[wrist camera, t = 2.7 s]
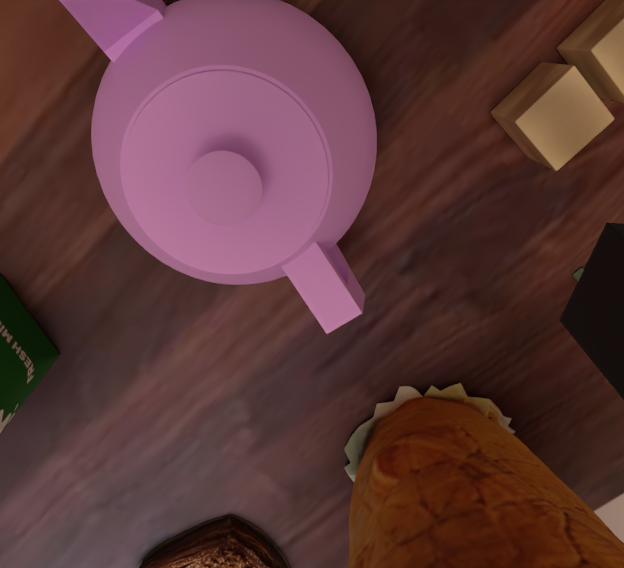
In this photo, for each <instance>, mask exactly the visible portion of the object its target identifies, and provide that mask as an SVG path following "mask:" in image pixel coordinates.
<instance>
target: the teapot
mask: <svg viewBox="0 0 624 568" xmlns="http://www.w3.org/2000/svg"><path fill="white" fill-rule="evenodd" d="M59 1H60V2H61V3H62V4H63V5H64V6H65V7H66V9H67V10H68V11H69V12H70V13H71V14H72V16H73V17H74V18H75V19H76V20H77V21H78V23H79V24H80V25H81V26H82V27H83V28H84V29H85V31H86V32H87V33H88V34H89V35H90V36H91V38H92V39H93V40H94V41H95V42H96V43H97V44H98V46H99V47H100V48H101V49H102V50H103V51H104V53H105V54H106V55H107V56H108V57H109V58H110V60H111V61H110V63H109V65H108V67H107V69H106V71H105V73H104V75H103V77H102V80H101V83H100V86H99V89H98V92H97V95H96V99H95V105H94V110H93V116H92V129H91V141H92V152H93V159H94V163H95V168H96V172H97V176H98V178H99V181H100V184H101V187H102V190H103V192H104V195H105V197H106V199H107V201H108V203H109V205H110V207H111V209H112V210H113V212H114V213H115V215H116V216H117V218H118V219H119V221H120V222H121V224H122V225H123V227H124V228H125V229H126V230H127V231H128V232H129V234H130V235H131V236H132V237H133V238H134V239H135V240H136V241H137V242H138V243H139V244H140V245H141V246H142V247H143V248H144V249H145V250H146V251H148V252H149V253H150V254H152V255H153V256H154V257H156V258H157V259H158V260H160V261H161V262H163V263H164V264H166V265H168V266H170V267H172V268H173V269H175V270H177V271H179V272H182V273H184V274H186V275H189V276H191V277H194V278H198V279H201V280H205V281H208V282H214V283H220V284H232V285H245V284H257V283H262V282H267V281H272V280H275V279H278V278H281V277H285V276H288V277H289V279H290V280H291V282H292V283H293V285H294V286H295V288H296V289H297V291H298V292H299V294H300V295H301V297H302V298H303V300H304V301H305V303H306V304H307V306H308V307H309V308H310V310H311V311H312V313H313V314H314V316H315V317H316V319H317V320H318V322H319V323H320V325H321V326H322V328H323V329H324V331H325V332H326V334H328V333H330V332H331V331H333V330H335V329H336V328H338V327H340V326H341V325H343V324H345V323H347V322H348V321H350V320H352V319H353V318H355V317H357V316H358V315H360V314H362V312H363V306H364V300H365V294H364V292H363V290H362V289H361V287H360V285H359V283H358V281H357V280H356V278H355V276H354V274H353V272H352V271H351V269H350V267H349V265H348V264H347V262H346V260H345V258H344V256H343V255H342V253H341V251H340V249H339V247H338V246H337V244H336V243H337V242H338V241H339V240H340V239H341V238H342V236H343V235H344V234H345V233H346V231H347V230H348V229H349V227H350V226H351V225H352V223H353V222H354V220H355V219H356V217H357V215H358V213H359V211H360V210H361V208H362V206H363V204H364V201H365V199H366V196H367V194H368V191H369V189H370V186H371V182H372V178H373V174H374V170H375V162H376V154H377V129H376V121H375V114H374V110H373V106H372V102H371V98H370V95H369V92H368V90H367V87H366V85H365V83H364V80H363V78H362V76H361V74H360V72H359V70H358V69H357V67H356V65H355V63H354V62H353V60H352V58H351V57H350V56H349V54H348V53H347V52H346V50H345V49H344V48H343V46H342V45H341V44H340V42H339V41H338V40H337V39H336V38H335V37H334V36H333V35H332V34H331V33H330V32H329V31H328V30H327V29H326V28H325V27H324V26H322V25H321V24H320V23H318V22H317V21H316V20H315V19H313V18H312V17H311V16H309V15H308V14H306V13H304V12H303V11H301V10H299V9H297V8H296V7H294V6H292V5H290V4H288V3H285V2H283V1H280V0H180V1H177V2H174V3H172V4H171V5H169V6H166V5H165V3H164V2H163V1H162V0H59Z"/></svg>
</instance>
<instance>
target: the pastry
mask: <svg viewBox="0 0 624 568" xmlns="http://www.w3.org/2000/svg"><path fill="white" fill-rule="evenodd" d="M139 568H290V567H289V565H288V563H287V561H286V560H285V558H284V556H283V554H282V553H281V551H280V550H279V549H278V548H277V547H276V546H275V544H274V543H273V542H272V541H271V540H270V539H269V538H268V537H267V535H265V534H264V533H263V532H262V531H261V530H260V529H259V528H257V527H256V526H254V525H252V524H251V523H249V522H247V521H245V520H243V519H241V518H238V517H236V516H234V515H229V516H223V517H219V518H216V519H213V520H210V521H208V522H205V523H203V524H201V525H199V526H197V527H194V528H192V529H190V530H187V531H185V532H183V533H181V534H179V535H177V536H175V537H173V538H171V539H169V540H168V541H166V542H164V543H163V544H161V545H159V546H157V547H156V548H155V549H153V550H152V551H151V552H149V554H148V555H147V556H146V557H145V558H144V559H143V562H142V564H141V566H140V567H139Z"/></svg>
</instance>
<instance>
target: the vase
mask: <svg viewBox="0 0 624 568" xmlns="http://www.w3.org/2000/svg"><path fill="white" fill-rule="evenodd" d="M511 419H512V418H508V417H503V415H502V413H501V411H500V409H499V408H498V407H497V406H496V405H495V404H494V403H493V402H492V401H491V400H490V399H485V398H477V397H468V396H467V394H466V392H465V390H464V388H463V387H462V385H461V383H459V384H455V385H452V386H449V387H447V388H445V389H443V390H442V391H440V390H438V389H437V388H435V387H434V386H432V385H431V387H430V388H429V390H428V391H427V392H426V394H425V395H424V396H422V395H421V394H420V393H419V392H418V391H417V390H416V389H414V388H412V387H410V386H401V387H399V389H398V392H397V394H396V397H395V400H394V401H393V402H386V403H379V404H377V405H376V409H375V412H374V416H373V418H372V419H370V420H368V421H367V422H365V423H364V424H362V425H361V426H359V427H358V429H357V430H356V431H355V432H354V434H353V435H352V436H351V438H350V439H349V441H348V443H347V445H346V447H345V449H344V451H345V453H346V455H347V457H348V459H349V461H350V464H348V465H347V466H346V467H344V468H345V470H346V472H347V474H348V475H349V477H350V478H351V479H352V480H353V482H354V486H353V491H352V496H351V504H350V517H349V535H350V553H349V567H348V568H624V543H623V542H622V541H620V540H619V539H618V538H617V537H616V536H615V535H614V534H613V533H612V531H611V530H610V529H609V528H608V527H607V526H606V525H605V524H604V523H603V522H602V520H601V519H600V518H599V517H598V516H597V515H596V514H595V513H594V512H593V511H592V510H591V509H590V508H589V507H588V506H587V505H586V504H585V503H584V502H583V501H582V500H581V499H580V498H579V497H578V496H577V495H576V494H575V493H574V492H573V491H572V490H571V489H570V488H569V487H568V486H567V485H565V484H564V483H563V482H562V481H561V480H560V479H559V478H558V477H557V476H556V475H555V474H554V473H553V472H552V471H551V470H550V469H549V468H548V467H547V466H546V465H545V464H544V463H543V462H542V461H541V460H540V459H538V458H537V457H536V456H535V455H534V454H533V453H532V452H531V451H530V450H529V448H528V447H527V446H526V445H525V444H523V443H522V442H521V441H520V440H519V439H518V438H517V437H515V436H514V435H513V434H512V433H515V431H514V430H512V429H511V428H510V427H508V425H509V423H510V421H511Z"/></svg>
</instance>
